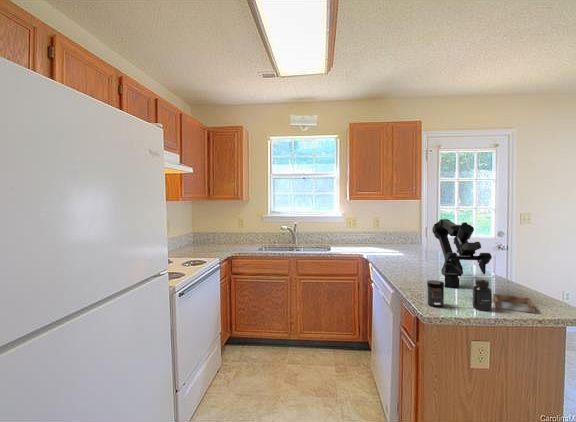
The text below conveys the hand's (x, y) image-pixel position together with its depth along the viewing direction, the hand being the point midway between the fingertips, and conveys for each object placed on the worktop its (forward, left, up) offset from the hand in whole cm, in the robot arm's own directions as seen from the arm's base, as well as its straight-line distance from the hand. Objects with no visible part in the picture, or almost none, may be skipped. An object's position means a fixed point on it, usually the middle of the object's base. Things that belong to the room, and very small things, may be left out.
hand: (473, 273), depth 133 cm
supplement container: (-15, -11, -13) cm, 23 cm away
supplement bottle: (+3, -7, -13) cm, 15 cm away
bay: (+14, +2, -13) cm, 20 cm away
